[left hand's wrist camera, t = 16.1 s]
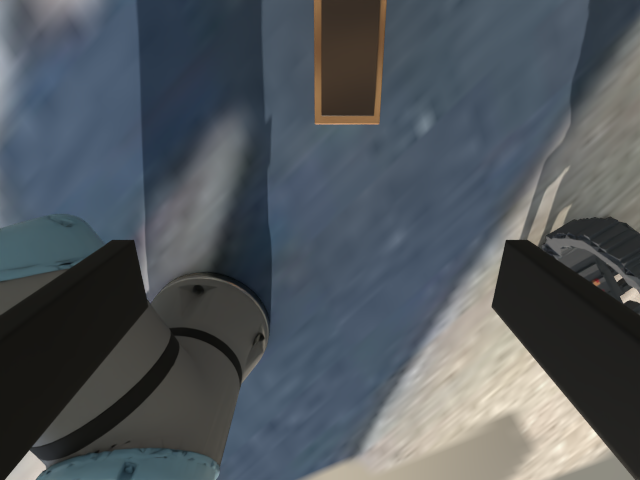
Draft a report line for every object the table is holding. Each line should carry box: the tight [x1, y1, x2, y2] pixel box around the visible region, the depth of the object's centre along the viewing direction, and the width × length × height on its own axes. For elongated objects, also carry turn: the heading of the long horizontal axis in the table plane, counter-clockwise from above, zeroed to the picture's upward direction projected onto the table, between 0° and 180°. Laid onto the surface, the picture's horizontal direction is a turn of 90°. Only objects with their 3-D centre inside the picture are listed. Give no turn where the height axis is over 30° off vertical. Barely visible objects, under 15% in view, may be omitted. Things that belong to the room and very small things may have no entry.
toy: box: [542, 217, 640, 315], centre depth 34 cm, size 13×27×18 cm, turn 37°
